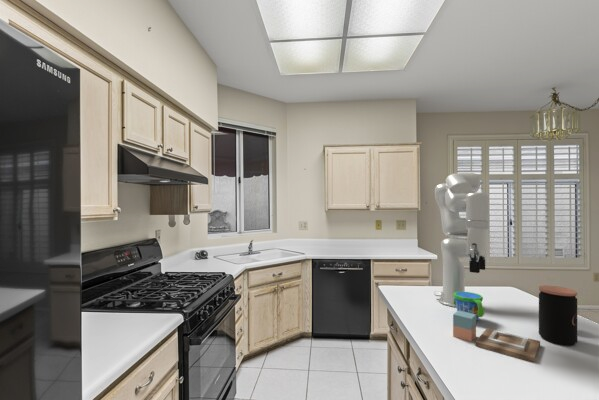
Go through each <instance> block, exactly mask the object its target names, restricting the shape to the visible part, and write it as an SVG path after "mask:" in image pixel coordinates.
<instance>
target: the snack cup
mask: <svg viewBox="0 0 599 400" xmlns="http://www.w3.org/2000/svg"><path fill="white" fill-rule="evenodd" d="M454 297H455V298H454V305H456V307H455V308H456V312H457V311H463V312H467V313H472V314H476V322H477V321H478V320H479V319H480V318H482V317H484V316H485V311H484V310H485V309H484V307H483V303H482V301H483V299H484V297H483V296H482V295H481V294H479V293H474V292H470V291H465V292H455V293H454Z"/></svg>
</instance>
